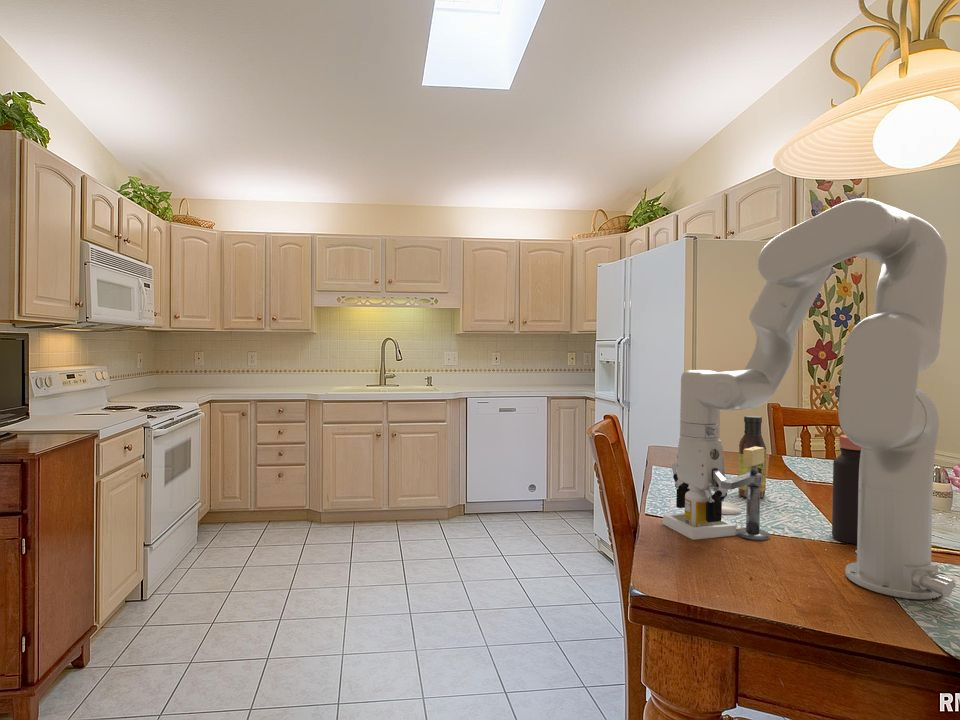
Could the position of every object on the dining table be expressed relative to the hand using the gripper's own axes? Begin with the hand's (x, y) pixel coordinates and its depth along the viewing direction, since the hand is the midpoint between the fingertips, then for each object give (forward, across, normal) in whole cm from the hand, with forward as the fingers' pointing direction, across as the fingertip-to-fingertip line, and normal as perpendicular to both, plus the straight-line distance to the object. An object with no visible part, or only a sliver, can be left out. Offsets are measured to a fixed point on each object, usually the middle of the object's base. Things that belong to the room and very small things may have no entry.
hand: (697, 514), depth 118 cm
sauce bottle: (+3, +19, -29) cm, 35 cm away
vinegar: (+3, -13, -25) cm, 29 cm away
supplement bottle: (+3, 0, 0) cm, 3 cm away
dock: (+3, 0, 0) cm, 3 cm away
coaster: (+3, +11, -14) cm, 18 cm away
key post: (+3, -6, -8) cm, 11 cm away
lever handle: (-7, -8, -4) cm, 12 cm away
